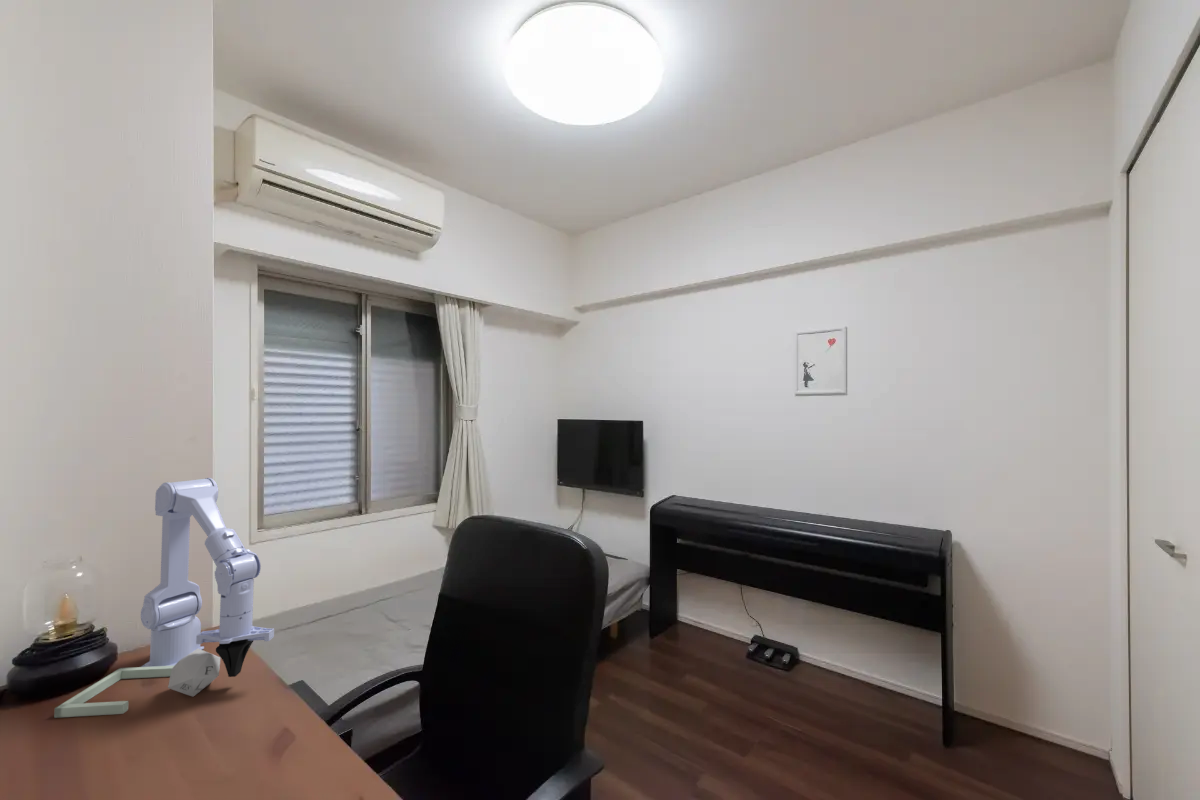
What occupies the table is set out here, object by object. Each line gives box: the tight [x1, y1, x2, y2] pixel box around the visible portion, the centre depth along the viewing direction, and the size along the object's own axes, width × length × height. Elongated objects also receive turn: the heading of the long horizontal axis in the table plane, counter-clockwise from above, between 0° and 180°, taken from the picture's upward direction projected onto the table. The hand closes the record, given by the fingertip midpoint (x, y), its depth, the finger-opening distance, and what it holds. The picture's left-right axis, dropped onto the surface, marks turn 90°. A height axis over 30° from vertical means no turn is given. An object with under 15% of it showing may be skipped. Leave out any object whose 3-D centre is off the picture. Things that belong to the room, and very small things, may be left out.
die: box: [167, 649, 222, 698], centre depth 101 cm, size 8×9×10 cm
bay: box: [53, 665, 175, 719], centre depth 100 cm, size 14×12×2 cm
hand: (234, 674), depth 102 cm, fingers closed
